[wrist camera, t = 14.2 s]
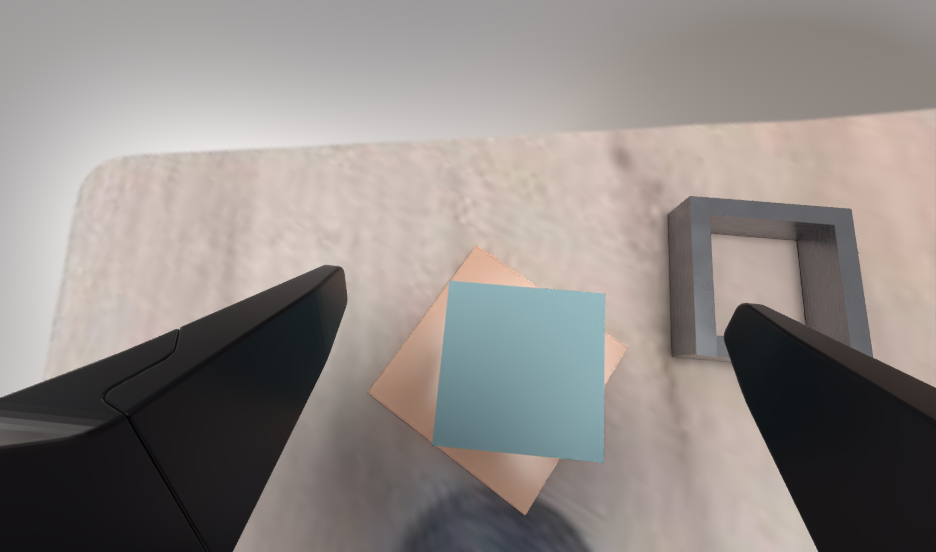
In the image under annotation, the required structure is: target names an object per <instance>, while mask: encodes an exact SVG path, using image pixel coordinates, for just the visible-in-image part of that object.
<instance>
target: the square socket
mask: <svg viewBox="0 0 936 552" xmlns="http://www.w3.org/2000/svg"><path fill="white" fill-rule="evenodd" d="M668 227H669V264H670V301H671V338H672V357H682V358H693V359H703V360H714V361H724V362H731V360H730V357H729V354H728V352H727V349H726V346H725V343H724V337H722V336H716V323H715V304H714V286H713V267H712V249H711V233H715V234H727V235H739V236H751V237H763V238H775V239H787V240H797V244H798V253H799V262H800V271H801V281H802V290H803V299H804V308H805V317H806V326H808V327H810V328H812V329H814V330H816V331H818V332H820V333H822V334H825V335H827V336H829V337H831V338H833V339H835V340H837V341H839V342H841V343H843V344H845V345H847V346H850V347H852V348H854V349H856V350H858V351H860V352H862V353H864V354H866V355H868V356H870V357H872V358H873V353H872V346H871V339H870V332H869V326H868V319H867V312H866V305H865V298H864V292H863V285H862V278H861V271H860V264H859V257H858V251H857V244H856V237H855V230H854V223H853V217H852V210H851V209H846V208H833V207H821V206H808V205H796V204H783V203H770V202H758V201H745V200H733V199H720V198H708V197H695V196H690V197H688V198H687V199H686V200H685V201H683V202H682V203H681V204H680V205H679V206H677V207H676V208H675V209H674V210H673V211H671V212H670V213H669V214H668Z"/></svg>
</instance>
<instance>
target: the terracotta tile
mask: <svg viewBox="0 0 936 552" xmlns="http://www.w3.org/2000/svg"><path fill="white" fill-rule="evenodd" d="M450 281H461V282H473V283H484V284H496V285H508V286H520V287H532V288H539V287H537V286H536V285H534V284H533V283H531V282H530V281H528V280H527V279H525V278H524V277H522V276H521V275H519V274H518V273H516V272H515V271H513V270H512V269H510V268H509V267H507V266H506V265H504V264H503V263H501V262H500V261H498V260H497V259H495V258H494V257H492V256H491V255H489V254H488V253H486V252H485V251H484V250H482V249H481V248H479V247H478V246H476V247H475V248H474V249H473V251H472V252H471V254H470V255H469V256H468V258H467V259H466V260H465V262H464V263H463V264H462V266H461V267H460V268H459V270H458V271H457V272H456V274H455V275H454V276H453V278H452V279H451V280H450ZM448 289H449V283H448V285H447V286H446V287H445V289H444V290H443V291H442V293H441V294H440V295H439V297H438V298H437V299H436V301H435V302H434V303H433V305H432V306H431V307H430V309H429V310H428V312H427V313H426V314H425V316H424V317H423V318H422V320H421V321H420V322H419V324H418V325H417V326H416V328H415V329H414V330H413V332H412V333H411V334H410V336H409V337H408V339H407V340H406V341H405V343H404V344H403V345H402V347H401V348H400V349H399V351H398V352H397V353H396V355H395V356H394V357H393V359H392V360H391V361H390V363H389V364H388V366H387V367H386V368H385V370H384V371H383V372H382V374H381V375H380V376H379V378H378V379H377V380H376V382H375V383H374V384H373V386H372V387H371V388H370V390H369V391H368V393H369V394H370V395H372V396H373V397H374V398H375V399H377V400H378V401H379V402H381V403H382V404H383V405H384V406H386V407H387V408H388V409H390V410H391V411H392V412H393V413H395V414H396V415H397V416H398V417H400V418H401V419H402V420H404V421H405V422H406V423H407V424H409V425H410V426H411V427H413V428H414V429H415V430H416V431H418V432H419V433H420V434H422V435H423V436H424V437H425V438H427V439H428V440H429V441H430V442H433V432H434V423H435V413H436V404H437V394H438V385H439V375H440V365H441V356H442V346H443V337H444V327H445V318H446V308H447V299H448ZM627 348H628V347H627V346H625V345H624V344H622V343H621V342H619V341H618V340H616V339H615V338H613V337H612V336H610V335H609V334H607V333H606V332H605V364H604V386H605V384H606V383H607V381H608V379H609V378H610V376H611V374H612V373H613V371H614V369H615V368H616V366H617V365H618V363H619V361H620V360H621V358H622V356H623V355H624V353H625V351H626V350H627ZM437 447H438V448H439V449H441V450H442V451H443V452H445V453H446V454H447V455H448V456H450V457H451V458H452V459H454V460H455V461H456V462H457V463H459V464H460V465H461V466H462V467H464V468H465V469H466V470H468V471H469V472H470V473H471V474H473V475H474V476H475V477H477V478H478V479H479V480H480V481H482V482H483V483H484V484H485V485H487V486H488V487H489V488H491V489H492V490H493V491H494V492H496V493H497V494H498V495H500V496H501V497H502V498H503V499H505V500H506V501H507V502H509V503H510V504H511V505H512V506H514V507H515V508H516V509H517V510H519V511H520V512H521V513H523V514H524V515H526V513H527V512H528V510H529V509H530V507H531V505H532V504H533V502H534V500H535V499H536V497H537V495H538V494H539V492H540V491H541V489H542V487H543V486H544V484H545V482H546V481H547V479H548V477H549V476H550V474H551V473H552V471H553V469H554V468H555V466H556V464H557V463H558V461H559V459H560V458H551V457H541V456H531V455H521V454H511V453H501V452H492V451H482V450H472V449H462V448H452V447H442V446H437Z"/></svg>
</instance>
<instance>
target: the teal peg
mask: <svg viewBox="0 0 936 552" xmlns="http://www.w3.org/2000/svg"><path fill="white" fill-rule="evenodd" d="M604 364H605V294H603V293H591V292H579V291H567V290H555V289H544V288H532V287H520V286H508V285H496V284H484V283H473V282H461V281H449V289H448V299H447V308H446V318H445V327H444V337H443V346H442V356H441V365H440V375H439V385H438V394H437V404H436V413H435V423H434V432H433V442H432V446H442V447H452V448H462V449H472V450H482V451H492V452H501V453H511V454H521V455H531V456H541V457H551V458H561V459H571V460H581V461H591V462H601V463H604Z"/></svg>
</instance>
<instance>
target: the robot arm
mask: <svg viewBox="0 0 936 552" xmlns="http://www.w3.org/2000/svg"><path fill="white" fill-rule="evenodd" d="M346 305H347V290H346V281H345V274H344V270H343V268H342V267H340V266H331V265H323V266H321V267H319V268H316V269H314V270H312V271H309V272H307V273H305V274H302V275H300V276H298V277H296V278H293V279H291V280H289V281H286V282H284V283H282V284H279V285H277V286H275V287H272V288H270V289H268V290H265V291H263V292H261V293H259V294H256V295H254V296H252V297H249V298H247V299H245V300H242V301H240V302H238V303H235V304H233V305H231V306H228V307H226V308H224V309H222V310H219V311H217V312H215V313H212V314H210V315H208V316H205V317H203V318H201V319H198V320H196V321H194V322H192V323H189V324H187V325H185V326H182V327H181V328H180V330H179V329H175V330H173V331H170V332H168V333H166V334H164V335H161V336H159V337H157V338H154V339H152V340H149V341H147V342H145V343H142V344H140V345H137V346H135V347H133V348H130V349H128V350H125V351H123V352H120V353H118V354H115V355H112V356H110V357H107V358H105V359H102V360H99V361H97V362H94V363H92V364H89V365H86V366H84V367H81V368H78V369H76V370H73V371H70V372H68V373H65V374H62V375H60V376H57V377H54V378H52V379H49V380H46V381H44V382H41V383H38V384H36V385H33V386H30V387H28V388H25V389H22V390H20V391H17V392H14V393H12V394H9V395H7V396H4V397H1V398H0V552H233V550H234V548H235V546H236V544H237V542H238V540H239V538H240V536H241V534H242V532H243V530H244V528H245V526H246V524H247V522H248V520H249V518H250V516H251V514H252V512H253V510H254V508H255V506H256V504H257V502H258V500H259V498H260V496H261V494H262V492H263V490H264V488H265V486H266V484H267V481H268V479H269V477H270V475H271V473H272V471H273V469H274V467H275V465H276V463H277V461H278V459H279V457H280V455H281V453H282V451H283V449H284V447H285V445H286V443H287V441H288V439H289V437H290V435H291V433H292V431H293V429H294V427H295V425H296V423H297V421H298V419H299V417H300V415H301V413H302V411H303V409H304V407H305V404H306V402H307V400H308V398H309V396H310V394H311V392H312V390H313V388H314V386H315V384H316V382H317V380H318V378H319V376H320V374H321V372H322V370H323V368H324V366H325V364H326V361H327V359H328V357H329V354H330V351H331V349H332V346H333V343H334V340H335V337H336V334H337V331H338V328H339V326H340V323H341V320H342V317H343V314H344V311H345V308H346ZM724 343H725V346H726V349H727V352H728V354H729V357H730V360H731V363H732V366H733V368H734V371H735V374H736V377H737V380H738V382H739V385H740V388H741V391H742V393H743V396H744V398H745V401H746V403H747V406H748V408H749V410H750V412H751V414H752V416H753V418H754V420H755V422H756V424H757V427H758V429H759V431H760V433H761V435H762V437H763V439H764V441H765V443H766V445H767V447H768V449H769V451H770V453H771V455H772V457H773V460H774V462H775V464H776V466H777V468H778V470H779V472H780V474H781V476H782V478H783V480H784V482H785V484H786V486H787V488H788V490H789V492H790V495H791V497H792V499H793V501H794V503H795V505H796V507H797V509H798V511H799V513H800V515H801V517H802V519H803V521H804V523H805V525H806V528H807V530H808V532H809V534H810V536H811V538H812V540H813V542H814V544H815V546H816V548H817V550H818V552H936V388H935V387H933V386H931V385H929V384H927V383H925V382H923V381H920V380H918V379H916V378H914V377H912V376H910V375H908V374H906V373H904V372H902V371H900V370H897V369H895V368H893V367H891V366H889V365H887V364H885V363H883V362H881V361H879V360H877V359H875V358H872V357H870V356H868V355H866V354H864V353H862V352H860V351H858V350H856V349H854V348H852V347H850V346H847V345H845V344H843V343H841V342H839V341H837V340H835V339H833V338H831V337H829V336H827V335H825V334H822V333H820V332H818V331H816V330H814V329H812V328H810V327H808V326H806V325H804V324H802V323H800V322H797V321H795V320H793V319H791V318H789V317H787V316H785V315H783V314H781V313H779V312H777V311H775V310H772V309H770V308H768V307H766V306H764V305H760V304H751V303H743V304H740V305H739V306H738V307H737V308H736V310H735V312H734V314H733V316H732V318H731V320H730V322H729V324H728V326H727V328H726V330H725V332H724Z"/></svg>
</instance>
